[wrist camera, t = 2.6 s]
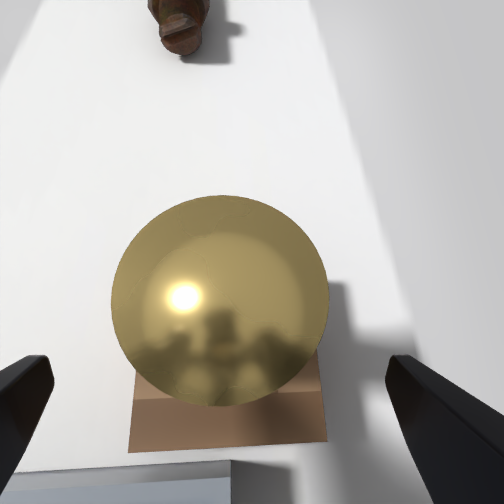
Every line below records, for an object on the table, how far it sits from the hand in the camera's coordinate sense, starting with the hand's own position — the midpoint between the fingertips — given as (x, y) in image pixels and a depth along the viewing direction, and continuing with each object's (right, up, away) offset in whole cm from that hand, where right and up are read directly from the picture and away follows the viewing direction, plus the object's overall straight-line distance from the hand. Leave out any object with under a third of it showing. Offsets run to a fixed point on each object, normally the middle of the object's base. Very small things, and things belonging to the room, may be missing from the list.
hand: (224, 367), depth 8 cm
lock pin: (-1, -2, +9) cm, 9 cm away
